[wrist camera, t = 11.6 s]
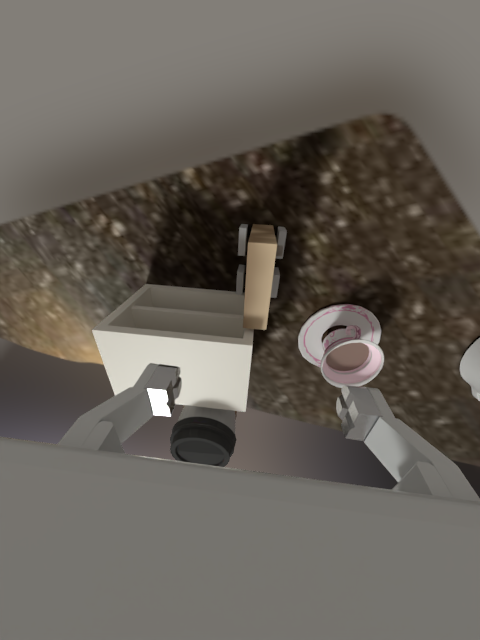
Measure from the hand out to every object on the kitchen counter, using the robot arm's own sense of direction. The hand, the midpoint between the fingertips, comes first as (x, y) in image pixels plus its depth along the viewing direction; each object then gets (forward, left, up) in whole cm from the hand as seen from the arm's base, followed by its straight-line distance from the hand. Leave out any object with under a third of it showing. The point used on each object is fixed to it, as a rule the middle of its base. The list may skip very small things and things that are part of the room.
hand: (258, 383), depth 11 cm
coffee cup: (+5, +20, -21) cm, 29 cm away
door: (0, 0, -21) cm, 21 cm away
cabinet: (+7, +5, -21) cm, 23 cm away
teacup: (-13, +11, -21) cm, 27 cm away
